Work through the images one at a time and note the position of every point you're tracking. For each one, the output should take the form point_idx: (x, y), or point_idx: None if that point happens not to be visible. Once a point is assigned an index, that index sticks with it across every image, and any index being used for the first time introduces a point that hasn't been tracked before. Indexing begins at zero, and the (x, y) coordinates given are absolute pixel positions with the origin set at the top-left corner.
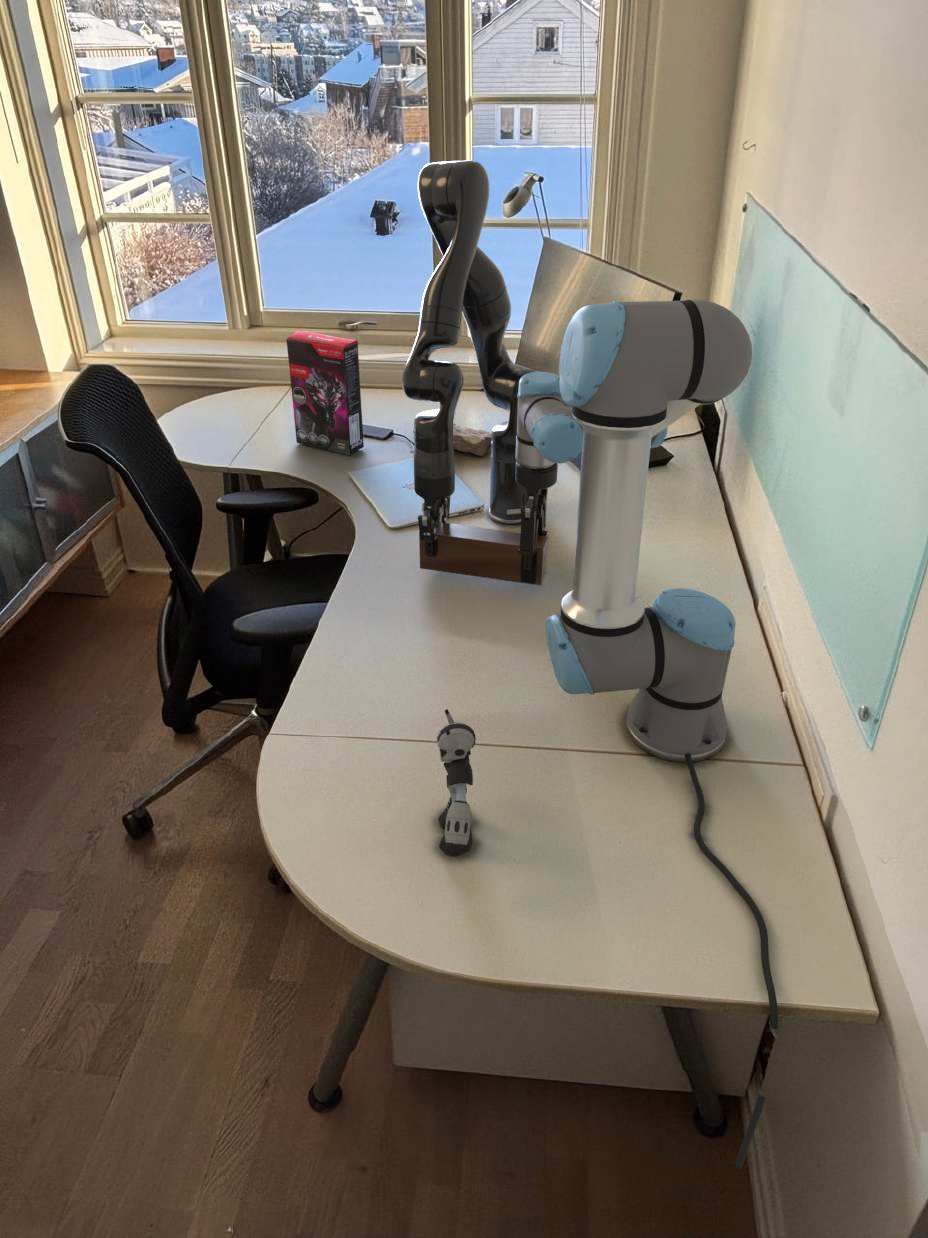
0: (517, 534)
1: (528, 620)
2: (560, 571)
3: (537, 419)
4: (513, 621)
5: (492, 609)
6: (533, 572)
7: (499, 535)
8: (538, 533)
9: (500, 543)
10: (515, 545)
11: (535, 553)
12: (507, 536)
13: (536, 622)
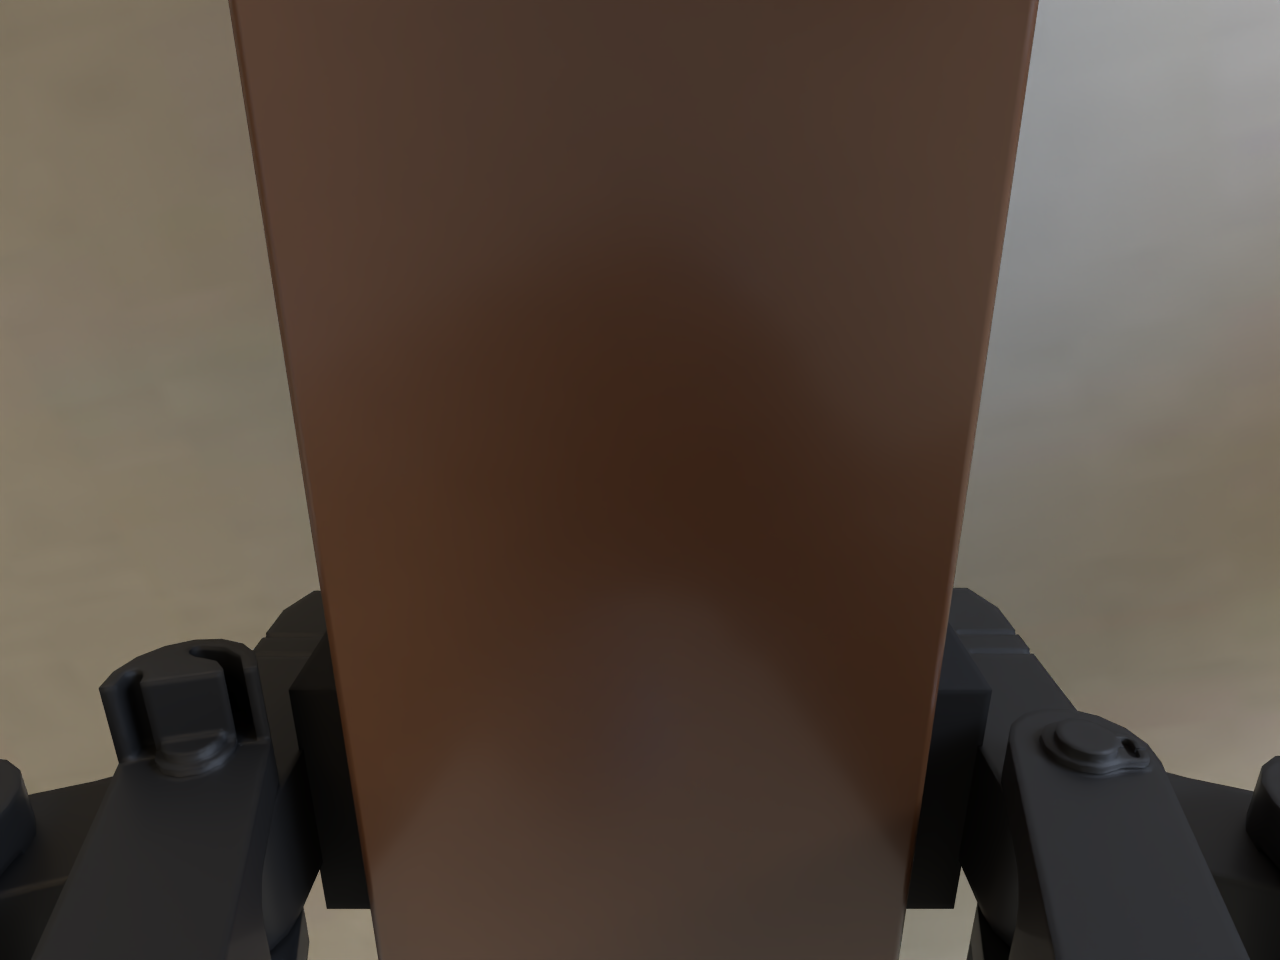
0: (846, 540)
1: (107, 555)
2: None
3: None
4: (24, 440)
5: (112, 195)
6: None
7: (688, 75)
8: (989, 898)
9: (268, 218)
10: (327, 592)
11: (326, 898)
12: (689, 321)
13: (112, 619)
